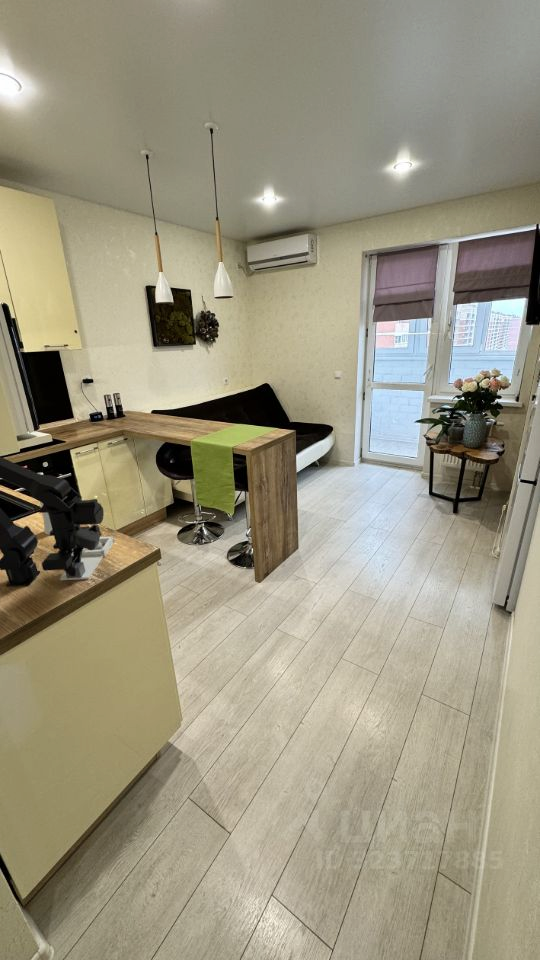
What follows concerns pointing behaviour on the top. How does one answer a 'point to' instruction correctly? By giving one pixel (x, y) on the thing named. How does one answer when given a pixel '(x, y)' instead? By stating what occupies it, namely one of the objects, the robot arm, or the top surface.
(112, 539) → the grey board with frame
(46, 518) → the cosmetic bottle
